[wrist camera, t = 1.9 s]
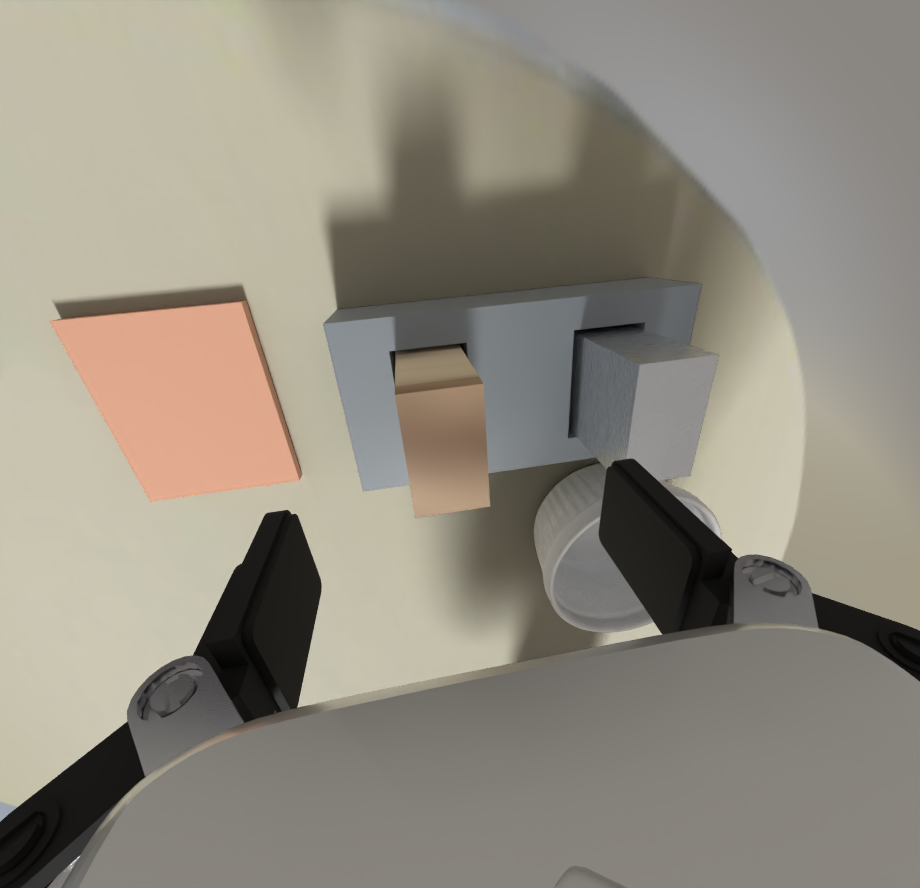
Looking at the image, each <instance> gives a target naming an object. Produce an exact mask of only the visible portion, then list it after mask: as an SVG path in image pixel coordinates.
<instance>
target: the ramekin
mask: <svg viewBox="0 0 920 888" xmlns="http://www.w3.org/2000/svg"><path fill="white" fill-rule="evenodd" d="M606 470H607V469H606V468H605V467H604V466H603V465H602V464H601V463H598V464H595V465H590V466H588V467H585V468H582V469H580V470H577V471H575V472H574V473H572V474H570V475H568V476H567V477H565V478H564V479H563V480H561V481H560V482H559V483H558V484H557V485H556V486H555V487H554V488H553V489H552V490H551V491H550V492H549V494H548V495H547V496H546V497H545V499H544V501H543V502H542V504H541V506H540V508H539V510H538V512H537V516H536V518H535V524H534V540H535V547H536V551H537V555H538V559H539V562H540V566H541V569H542V572H543V582H544V588H545V591H546V594H547V596H548V598H549V600H550V602H551V605H552V606H553V608H554V610H555V611H556V613H557V614H558V615H559V616H560V617H561V618H562V619H563V620H564V621H566V622H567V623H569V624H570V625H572V626H574V627H577V628H579V629H582V630H586V631H591V632H602V633H609V632H620V631H626V630H631V629H635V628H638V627H642V626H645V625H647V624H650V623H652V622H654V621H653V620H652V618H651V617H650V615H649V614H648V612H647V611H646V609H645V608H644V606H643V605H642V604H641V602H640V601H639V599H638V598H637V596H636V595H635V593H634V592H633V590H632V589H631V587H630V586H629V584H628V583H627V581H626V580H625V578H624V577H623V575H622V574H621V572H620V571H619V569H618V568H617V566H616V565H615V563H614V562H613V560H612V559H611V558H610V556H609V555H608V553H607V552H606V550H605V549H604V547H603V546H602V544H601V542H600V539H599V534H598V533H599V524H600V516H601V509H602V501H603V493H604V485H605V478H606ZM659 482H660V483H661V484H662V485H663V486H664V487H665V488H666V489H667V490H669V491H670V492H671V493H672V494H673V495H674V496H675V497H676V498H677V499H678V500H679V501H680V502H682V503H683V504H684V505H685V506H686V507H687V508H688V509H689V510H690V511H691V512H692V513H693V514H694V515H696V516H697V517H698V518H699V519H700V520H701V521H702V522H703V523H704V524H705V525H706V526H707V527H709V528H710V529H711V530H712V531H713V532H714V533H715V534H716V535H717V536H718V537H719V538H720V539H722V538H721V530H720V526H719V523H718V521H717V519H716V517H715V515H714V514H713V513H712V511H711V510H710V509H709V508H708V507H707V506H706V505H705V504H704V503H703V502H701V501H700V500H699V499H698V498H697V497H695V496H694V495H693V494H691V493H689V492H688V491H685V490H683V489H680V488H678V487H674V486H673V485H671V484H670V483H668V482H667V481H665V480H661V481H659Z"/></svg>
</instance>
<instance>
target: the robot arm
mask: <svg viewBox="0 0 920 888" xmlns="http://www.w3.org/2000/svg"><path fill="white" fill-rule="evenodd" d="M598 534H599V539H600V542H601V544H602V546H603V547H604V549H605V550H606V552H607V553H608V555H609V556H610V558H611V559H612V560H613V562H614V563H615V565H616V566H617V568H618V569H619V571H620V572H621V574H622V575H623V577H624V578H625V580H626V581H627V583H628V584H629V586H630V587H631V589H632V590H633V592H634V593H635V595H636V596H637V598H638V599H639V601H640V602H641V604H642V605H643V606H644V608H645V609H646V611H647V612H648V614H649V615H650V617H651V618H652V620H653V621H654V623H655V624H656V626H657V627H658V629H659V630H660V632H661V633H662V634H663V635H657V636H652V637H647V638H641V639H636V640H631V641H626V642H620V643H615V644H610V645H605V646H600V647H594V648H589V649H584V650H579V651H573V652H568V653H563V654H558V655H553V656H548V657H543V658H538V659H532V660H527V661H522V662H517V663H512V664H507V665H502V666H497V667H492V668H487V669H482V670H477V671H472V672H467V673H462V674H456V675H452V676H447V677H442V678H437V679H432V680H427V681H422V682H417V683H412V684H407V685H402V686H397V687H392V688H387V689H383V690H378V691H373V692H368V693H363V694H358V695H353V696H349V697H344V698H340V699H335V700H331V701H326V702H322V703H317V704H313V705H308V706H303V707H299V708H297V706H298V702H299V697H300V692H301V687H302V682H303V678H304V673H305V668H306V663H307V658H308V653H309V649H310V644H311V639H312V634H313V629H314V624H315V620H316V615H317V610H318V605H319V600H320V595H321V579H320V576H319V574H318V571H317V568H316V565H315V562H314V560H313V557H312V554H311V551H310V549H309V546H308V543H307V540H306V537H305V535H304V532H303V529H302V526H301V523H300V521H299V518H298V516H297V515H296V514H291V513H290V511H288V510H284V511H277V512H271V513H267V514H265V516H264V518H263V520H262V522H261V524H260V526H259V528H258V531H257V533H256V535H255V537H254V539H253V541H252V543H251V546H250V548H249V550H248V552H247V554H246V556H245V558H244V561H243V563H242V564H240V565H238V566H237V567H236V568H235V570H234V571H233V574H232V576H231V578H230V580H229V582H228V584H227V586H226V588H225V590H224V592H223V594H222V596H221V598H220V600H219V603H218V605H217V607H216V609H215V611H214V613H213V615H212V617H211V619H210V621H209V623H208V625H207V627H206V630H205V632H204V634H203V636H202V638H201V640H200V642H199V644H198V646H197V648H196V650H195V652H194V654H193V656H185V657H182V658H179V659H176V660H173V661H171V662H170V663H168V664H166V665H164V666H163V667H161V668H160V669H158V670H157V671H156V672H154V673H153V674H152V675H151V676H149V677H148V678H147V679H146V681H145V682H144V683H143V684H142V685H141V686H140V687H139V688H138V690H137V691H136V693H135V694H134V696H133V697H132V699H131V701H130V704H129V707H128V710H127V721H128V722H126V723H125V724H124V725H122V726H121V727H120V728H119V729H117V730H116V731H115V732H113V733H112V734H111V735H110V736H108V737H107V738H106V739H104V740H103V741H102V742H101V743H99V744H98V745H97V746H96V747H94V748H93V749H92V750H90V751H89V752H88V753H87V754H85V755H84V756H83V757H81V758H80V759H79V760H78V761H76V762H75V763H74V764H72V765H71V766H70V767H69V768H67V769H66V770H65V771H63V772H62V773H61V774H60V775H58V776H57V777H56V778H54V779H53V780H52V781H51V782H49V783H48V784H47V785H46V786H44V787H43V788H42V789H40V790H39V791H38V792H37V793H35V794H34V795H33V796H31V797H30V798H29V799H28V800H26V801H25V802H24V803H22V804H21V805H20V806H19V807H17V808H16V809H15V810H14V811H12V812H11V813H10V814H9V815H8V816H7V817H5V818H4V819H3V820H2V821H1V822H0V888H920V631H919V630H917V629H914V628H912V627H909V626H906V625H904V624H901V623H898V622H895V621H892V620H889V619H886V618H883V617H881V616H878V615H875V614H872V613H868V612H866V611H863V610H860V609H857V608H854V607H851V606H848V605H845V604H843V603H840V602H837V601H834V600H831V599H828V598H825V597H822V596H819V595H816V594H813V593H812V592H811V588H810V586H809V583H808V581H807V580H806V579H805V578H804V577H803V576H802V575H801V574H800V573H799V572H798V571H797V570H795V569H794V568H793V567H791V566H789V565H787V564H785V563H784V562H782V561H779V560H777V559H774V558H771V557H767V556H762V555H746V556H742V557H740V558H739V559H738V558H737V557H736V556H735V555H734V554H733V553H732V552H731V551H732V549H731V548H730V547H729V546H728V545H727V544H726V543H725V542H724V541H723V540H722V539H720V538H719V537H718V536H717V535H716V534H715V533H714V532H713V531H712V530H711V529H710V528H709V527H707V526H706V525H705V524H704V523H703V522H702V521H701V520H700V519H699V518H698V517H697V516H696V515H694V514H693V513H692V512H691V511H690V510H689V509H688V508H687V507H686V506H685V505H684V504H683V503H682V502H680V501H679V500H678V499H677V498H676V497H675V496H674V495H673V494H672V493H671V492H670V491H669V490H667V489H666V488H665V487H664V486H663V485H662V484H661V483H660V482H659V481H658V480H657V479H656V478H654V477H653V476H652V475H651V474H650V473H649V472H648V471H647V470H646V469H645V468H644V467H643V466H642V465H640V464H639V463H638V462H637V461H636V460H635V459H632V458H630V459H623V460H617V461H614V462H613V463H612V464H611V466H609V467H608V468H607V470H606V478H605V485H604V493H603V501H602V509H601V516H600V524H599V533H598Z"/></svg>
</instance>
